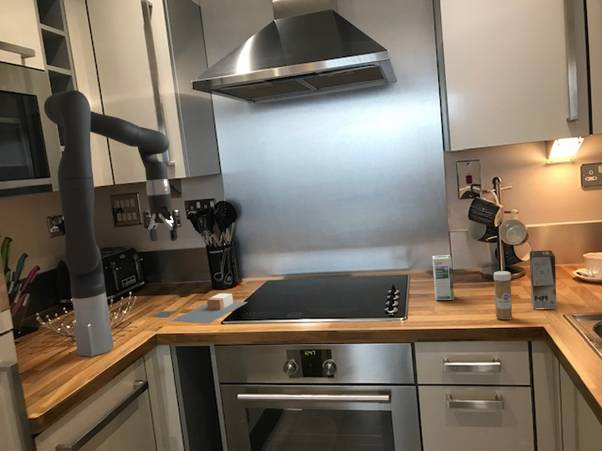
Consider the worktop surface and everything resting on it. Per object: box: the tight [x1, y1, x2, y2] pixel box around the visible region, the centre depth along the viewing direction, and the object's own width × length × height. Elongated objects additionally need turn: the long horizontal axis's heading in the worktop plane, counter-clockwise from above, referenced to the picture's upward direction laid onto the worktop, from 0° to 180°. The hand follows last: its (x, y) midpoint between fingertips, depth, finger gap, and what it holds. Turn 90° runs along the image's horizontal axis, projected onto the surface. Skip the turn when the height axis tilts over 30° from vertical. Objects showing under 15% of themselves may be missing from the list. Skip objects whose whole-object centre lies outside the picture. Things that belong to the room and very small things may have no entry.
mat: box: [171, 301, 248, 325], centre depth 180 cm, size 24×16×1 cm, turn 154°
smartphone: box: [152, 310, 178, 319], centre depth 178 cm, size 7×1×15 cm
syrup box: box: [431, 254, 455, 301], centre depth 169 cm, size 6×6×14 cm
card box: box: [206, 292, 234, 310], centre depth 185 cm, size 8×6×4 cm
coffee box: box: [529, 250, 557, 310], centre depth 152 cm, size 9×6×16 cm
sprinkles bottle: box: [493, 270, 513, 320], centre depth 145 cm, size 5×5×13 cm
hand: (164, 240), depth 172 cm, fingers open, 8 cm apart
